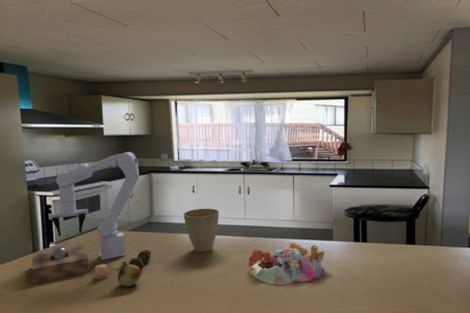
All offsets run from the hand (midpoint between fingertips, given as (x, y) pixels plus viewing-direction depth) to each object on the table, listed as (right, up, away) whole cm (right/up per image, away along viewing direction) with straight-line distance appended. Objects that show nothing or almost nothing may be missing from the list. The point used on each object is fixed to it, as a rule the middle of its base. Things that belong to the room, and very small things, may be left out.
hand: (70, 233), depth 147 cm
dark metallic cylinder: (+1, -11, -11) cm, 15 cm away
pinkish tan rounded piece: (+20, -11, -20) cm, 31 cm away
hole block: (+1, -11, -10) cm, 15 cm away
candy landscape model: (+86, -9, -21) cm, 89 cm away
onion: (+32, -11, -27) cm, 44 cm away
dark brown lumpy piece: (+32, -10, -10) cm, 35 cm away
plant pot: (+54, -8, +5) cm, 55 cm away
